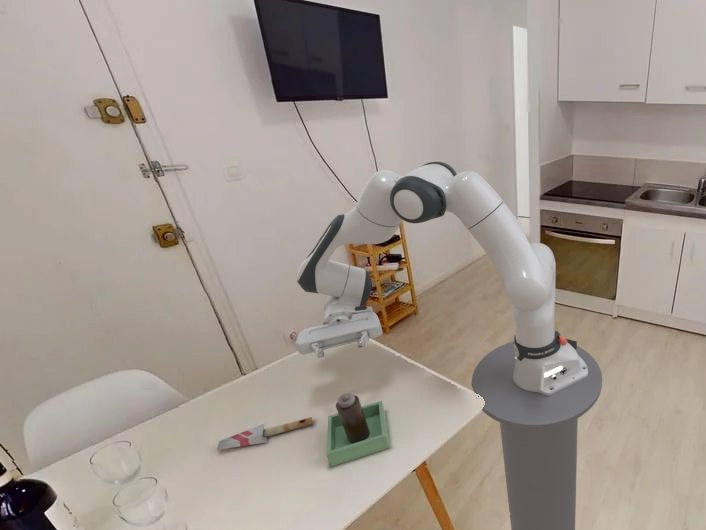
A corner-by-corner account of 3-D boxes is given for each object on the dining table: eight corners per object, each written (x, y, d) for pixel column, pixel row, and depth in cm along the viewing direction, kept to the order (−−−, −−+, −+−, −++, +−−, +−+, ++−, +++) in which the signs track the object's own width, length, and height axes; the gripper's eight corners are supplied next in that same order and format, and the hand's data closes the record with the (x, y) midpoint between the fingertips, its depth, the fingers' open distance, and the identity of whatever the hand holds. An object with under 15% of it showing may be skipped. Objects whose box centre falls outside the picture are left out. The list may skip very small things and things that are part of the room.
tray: (385, 412, 107) (381, 400, 105) (389, 447, 97) (385, 435, 95) (332, 427, 103) (328, 416, 101) (331, 466, 93) (326, 454, 91)
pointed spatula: (217, 435, 97) (311, 411, 105) (221, 443, 99) (313, 419, 106) (213, 447, 94) (310, 422, 102) (217, 455, 96) (312, 430, 103)
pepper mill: (369, 425, 102) (356, 384, 96) (370, 439, 98) (356, 398, 92) (348, 431, 101) (332, 390, 94) (348, 446, 97) (332, 405, 90)
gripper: (294, 322, 107) (289, 351, 96) (376, 304, 113) (380, 329, 102) (302, 341, 110) (298, 372, 99) (382, 323, 117) (386, 349, 105)
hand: (340, 350), depth 101 cm, fingers open, 8 cm apart
